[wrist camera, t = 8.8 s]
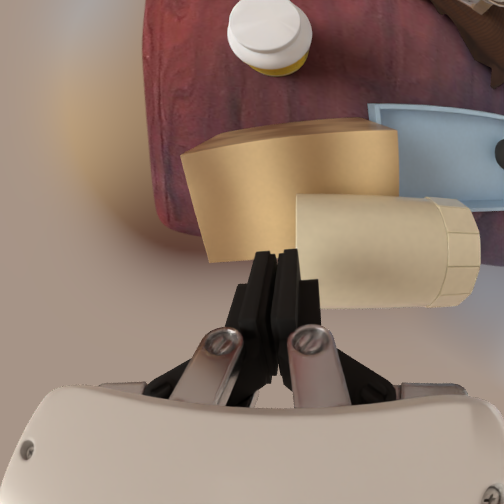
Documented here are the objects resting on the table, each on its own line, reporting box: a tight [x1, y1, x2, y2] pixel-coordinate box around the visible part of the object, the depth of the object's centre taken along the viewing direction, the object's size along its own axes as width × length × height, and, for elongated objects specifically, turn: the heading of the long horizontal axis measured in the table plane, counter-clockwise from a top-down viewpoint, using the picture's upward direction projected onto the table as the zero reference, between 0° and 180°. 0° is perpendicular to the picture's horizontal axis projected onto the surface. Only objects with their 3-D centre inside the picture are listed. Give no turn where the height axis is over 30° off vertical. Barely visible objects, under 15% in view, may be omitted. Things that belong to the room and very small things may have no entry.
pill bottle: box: [227, 0, 312, 77], centre depth 18 cm, size 6×6×12 cm
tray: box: [367, 103, 504, 212], centre depth 24 cm, size 23×12×3 cm, turn 100°
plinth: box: [181, 117, 399, 263], centre depth 24 cm, size 15×9×12 cm, turn 100°
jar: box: [296, 193, 480, 309], centre depth 16 cm, size 7×7×11 cm
